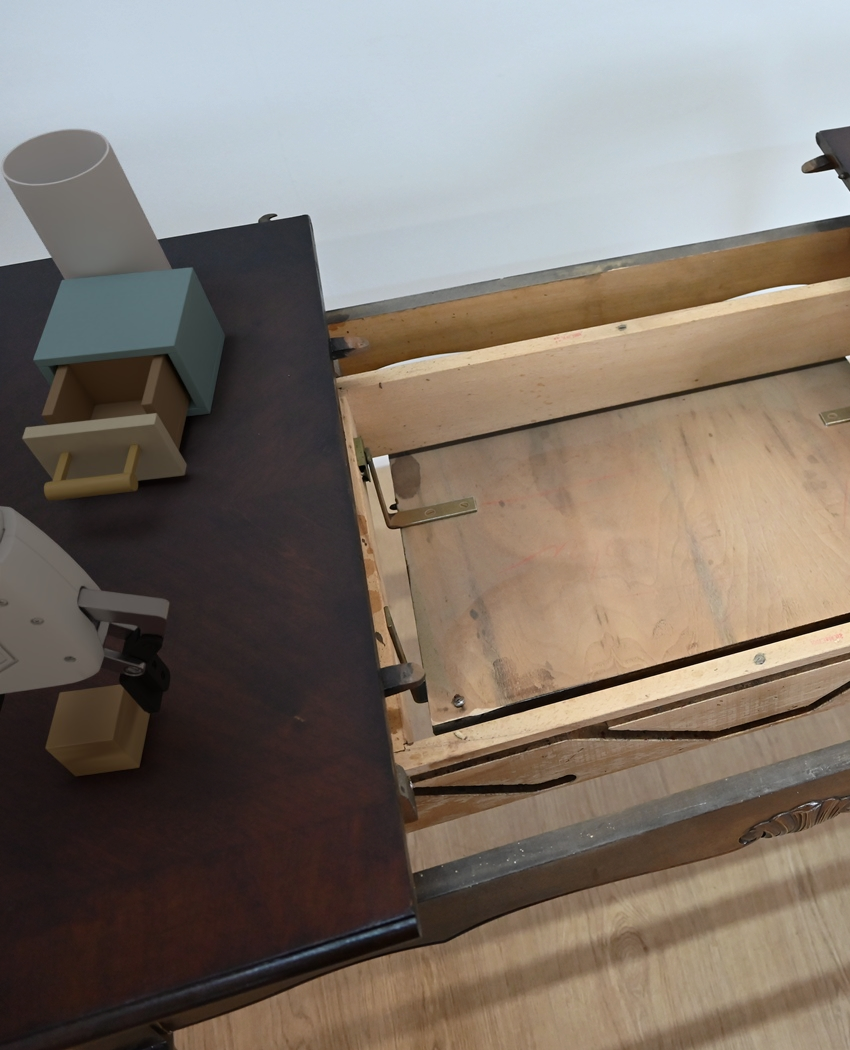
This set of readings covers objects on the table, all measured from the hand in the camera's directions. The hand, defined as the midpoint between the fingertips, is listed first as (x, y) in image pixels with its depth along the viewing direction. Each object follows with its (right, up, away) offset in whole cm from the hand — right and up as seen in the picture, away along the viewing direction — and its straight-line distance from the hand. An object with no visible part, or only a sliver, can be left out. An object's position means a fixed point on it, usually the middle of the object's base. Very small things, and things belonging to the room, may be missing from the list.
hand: (76, 704), depth 63 cm
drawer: (-7, +16, +19) cm, 26 cm away
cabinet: (-9, +23, +26) cm, 36 cm away
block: (0, -3, +5) cm, 6 cm away
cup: (-13, +30, +32) cm, 46 cm away
